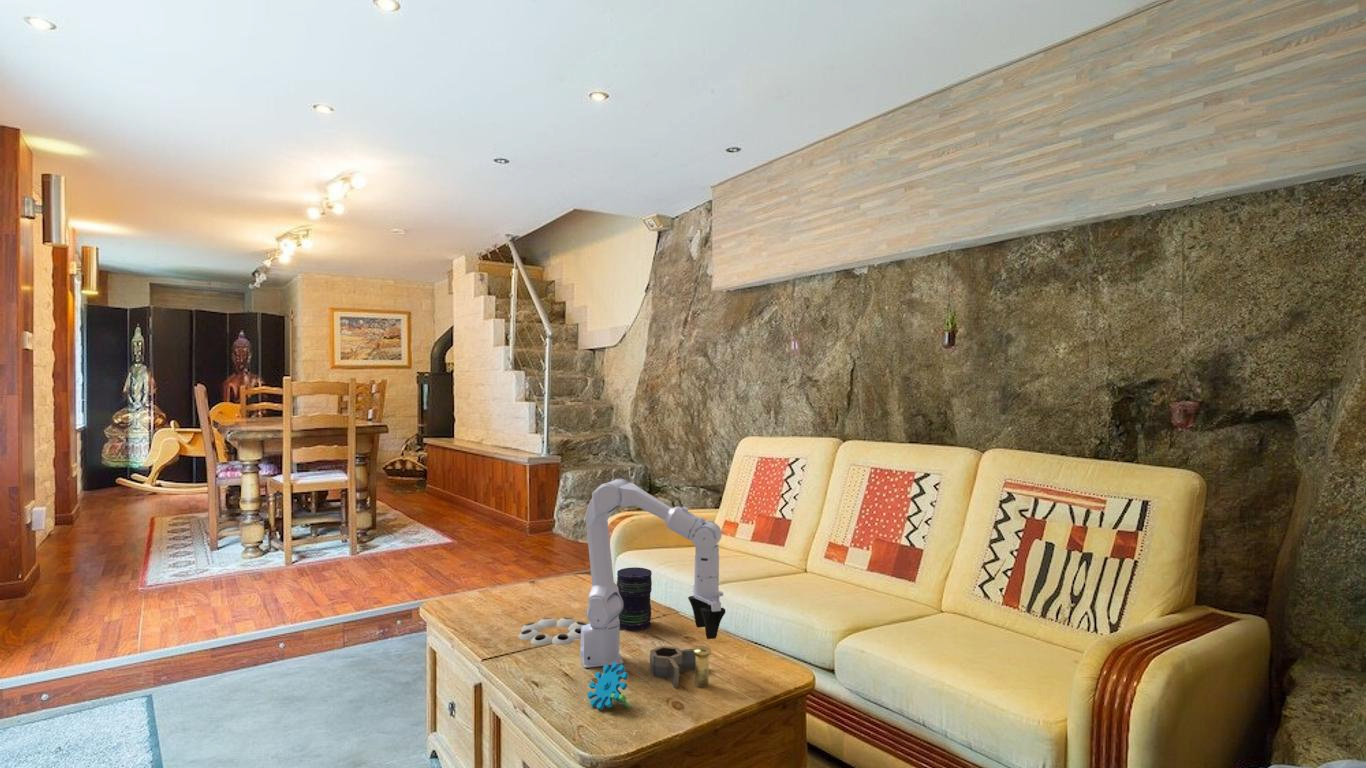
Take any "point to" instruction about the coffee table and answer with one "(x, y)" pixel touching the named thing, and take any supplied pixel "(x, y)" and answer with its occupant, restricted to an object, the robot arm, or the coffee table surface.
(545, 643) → the ring
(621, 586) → the storage jar
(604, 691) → the gear
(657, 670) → the hinge
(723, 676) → the coffee table surface
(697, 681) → the hinge pin
